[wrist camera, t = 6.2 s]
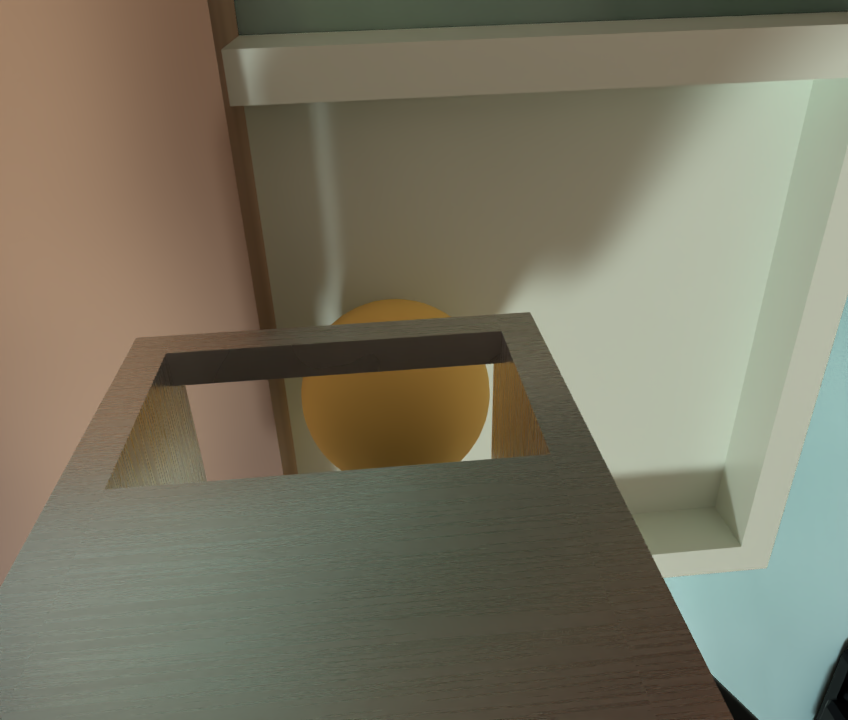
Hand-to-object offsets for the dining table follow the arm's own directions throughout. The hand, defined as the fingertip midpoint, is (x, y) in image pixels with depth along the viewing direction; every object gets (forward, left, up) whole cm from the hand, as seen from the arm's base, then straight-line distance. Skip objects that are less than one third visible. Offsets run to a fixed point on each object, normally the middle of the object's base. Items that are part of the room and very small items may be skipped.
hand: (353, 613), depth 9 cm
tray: (-4, 0, -7) cm, 8 cm away
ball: (-2, 0, -6) cm, 7 cm away
